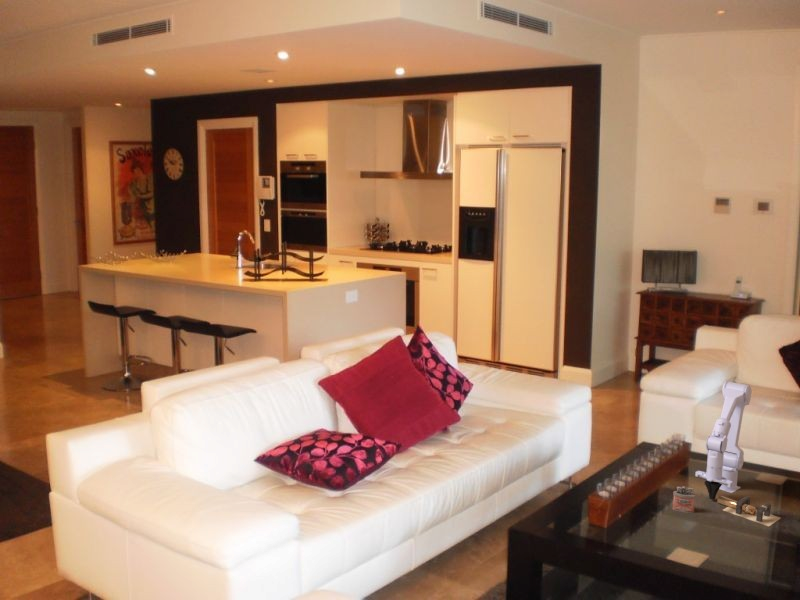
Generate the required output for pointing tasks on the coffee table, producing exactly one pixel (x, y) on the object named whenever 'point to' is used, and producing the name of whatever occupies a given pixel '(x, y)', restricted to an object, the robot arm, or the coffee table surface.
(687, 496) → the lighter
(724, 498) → the tube
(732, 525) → the coffee table surface
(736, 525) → the coffee table surface
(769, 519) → the board
